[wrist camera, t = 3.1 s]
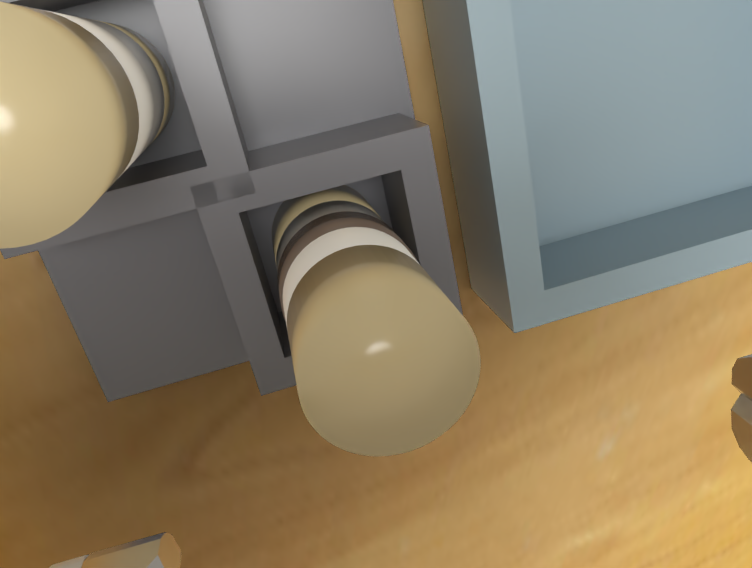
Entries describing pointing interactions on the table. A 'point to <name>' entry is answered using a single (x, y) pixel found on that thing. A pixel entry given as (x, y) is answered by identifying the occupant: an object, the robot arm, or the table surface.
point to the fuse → (71, 115)
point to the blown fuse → (368, 328)
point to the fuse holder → (240, 182)
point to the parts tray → (595, 146)
